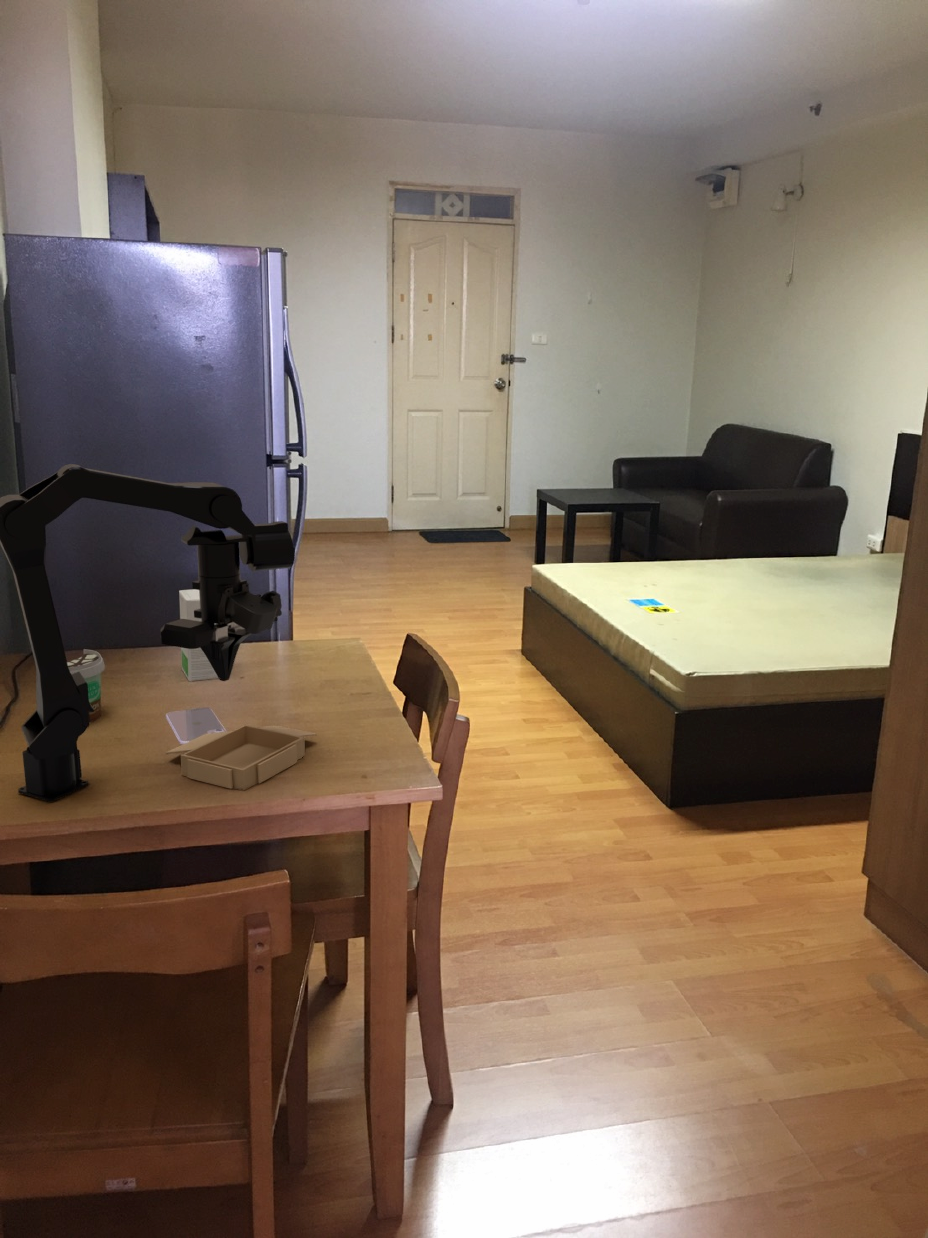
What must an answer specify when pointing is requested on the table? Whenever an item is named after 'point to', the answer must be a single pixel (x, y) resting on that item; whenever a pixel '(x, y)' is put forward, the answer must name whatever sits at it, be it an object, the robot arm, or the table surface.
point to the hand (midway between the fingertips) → (224, 680)
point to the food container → (90, 677)
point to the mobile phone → (193, 723)
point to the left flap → (196, 743)
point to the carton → (243, 757)
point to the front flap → (289, 731)
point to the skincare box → (195, 659)
